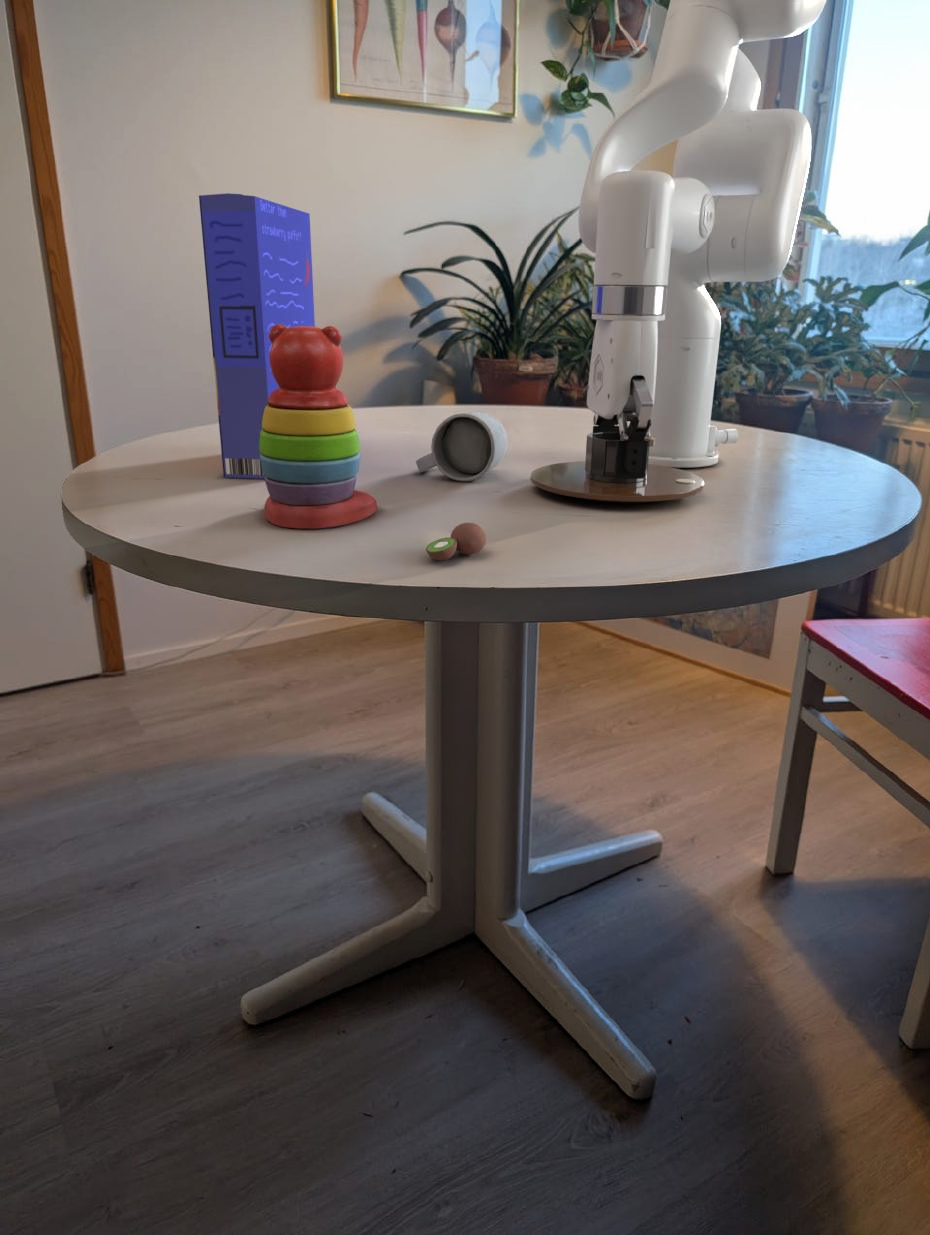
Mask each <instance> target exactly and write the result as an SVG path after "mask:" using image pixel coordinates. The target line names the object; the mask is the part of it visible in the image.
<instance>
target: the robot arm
mask: <svg viewBox="0 0 930 1235" xmlns="http://www.w3.org/2000/svg"><path fill="white" fill-rule="evenodd" d="M826 4H827V0H669V5H668V8H667V13H666V17H665V21H664V25H663V29H662V33H661V37H660V42H659V45H658V50H657V54H656V58H655V62H654V66H653V70H652V74H651V79H650V82H649V84H648V85H647V86H646V87H645V88H644V89H643V90H642V91H641V92H640V93H638V95H636V96H635V97H634V98H633V99H632V100H631V101H630V102H629V103H628V104H627V105H626V106H625V107H624V108H623V109H622V110H621V111H620V112H619V113H618V115H617V116H616V117H615V118H614V119H613V120H612V121H611V122H610V124H609V125H608V126H607V128H606V129H605V130H604V131H603V133H602V134H601V136H600V138H599V139H598V140H597V142H596V144H595V147H594V148H593V151H592V154H591V156H590V160H589V164H588V167H587V172H586V176H585V179H584V184H583V188H582V192H581V196H580V203H579V208H578V209H579V210H578V219H577V220H578V221H577V222H578V231H579V236H580V239H581V242H582V244H583V245H584V247H585V248H586V249H587V250H588V251H590V252H592V253H593V254H595V257H594V274H593V291H592V305H591V306H592V308H591V320H596V323H595V328H594V334H593V339H592V346H591V353H590V354H591V355H590V364H589V372H588V373H589V374H588V383H587V391H586V392H587V394H586V406H587V408H588V410H590V411H591V412H592V413H594V414H593V420H592V424H593V426H592V433H594V432H601V431H620V437H621V440H617V447H616V461H615V477H616V478H617V479H643V478H644V477H645V473H646V462H647V450H648V440H649V437H650V436H651V438H655V445H654V446H653V447H651V446H650V457H649V464H653V465H660V466H666V467H671V468H676V469H691V468H694V469H695V468H703V467H710V466H714V465H716V464H717V463H718V462H719V457H720V454H719V452H718V451H716V450H715V448H716V447H717V446H719V444H722V445H729V444H736V443H737V442H738V441H739V437H740V435H739V431H738V430H737V429H736V428H727V429H725V428H724V429H721V430H720V429H718V428H717V425H712V424H711V420H712V410H713V402H714V393H715V392H714V391H715V383H716V374H717V366H718V357H719V348H720V340H721V330H722V322H721V321H722V320H721V315H720V312H719V309H718V307H717V306H716V304H715V302H714V301H713V299H712V298H711V295H710V294H709V292H708V291H707V289H706V287H705V284H707V283H708V284H709V283H717V282H718V283H759V282H761V283H763V282H768V281H771V280H774V279H775V278H777V277H778V276H780V275H781V274H782V272H783V271H784V270H785V268H786V266H787V264H788V261H789V258H790V255H791V252H792V249H793V248H792V247H793V244H794V240H795V235H796V234H795V233H796V230H797V225H798V221H799V217H800V212H801V208H802V203H803V197H804V193H805V188H806V183H807V179H808V174H809V168H810V162H811V156H812V155H811V154H812V132H811V126H810V123H809V121H808V118H807V117H806V115H804V114H803V113H802V112H801V111H799V110H797V109H793V108H783V107H781V108H767V109H766V108H765V109H757V108H758V104H759V98H760V96H761V90H762V88H761V86H762V85H761V84H762V83H761V79H760V76H759V74H758V72H757V70H756V69H755V66H754V65H753V64H752V61H750V59H749V58H748V56H747V55H746V54H745V52H743V51H742V50H741V49H740V48H739V46H740V45H741V44H743V43H751V42H760V41H768V40H777V39H784V38H791V37H794V36H797V35H800V34H802V33H803V32H804V31H805V30H807V29H808V28H810V27H812V26H813V25H814V23H815V22H816V21H817V20H818V19H819V18H820V16H821V14H822V12H823V10H824V7H825V6H826ZM676 141H677V143H676V148H675V152H674V159H673V165H672V175H670V174H669V173H666V172H665V171H659V170H650V169H649V170H648V169H633V168H634V167H635V166H636V165H637V164H638V163H639V162H641V161H642V160H643V159H644V158H647V157H648V156H649V155H651V154H652V153H654V152H656V151H658V150H659V149H661V148H663V147H665V146H667V145H669V144H672V143H674V142H676ZM628 422H629V424H628Z"/></svg>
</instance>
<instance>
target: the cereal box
mask: <svg viewBox="0 0 930 1235" xmlns="http://www.w3.org/2000/svg"><path fill="white" fill-rule="evenodd" d="M198 200H199V214H200V222H201V223H200V225H201V236H202V246H203V247H202V248H203V259H204V268H205V280H206V292H207V302H208V303H207V304H208V315H209V316H208V317H209V327H210V336H211V337H210V338H211V349H212V360H213V370H214V371H213V372H214V382H215V394H216V404H217V405H216V406H217V416H218V427H219V428H218V430H219V437H220V438H219V439H220V451H221V462H222V472H223V478H232V479H262V480H265V475H264V474H263V471H262V466H261V461H260V454H261V452H260V451H259V441H260V432H261V430H262V429H263V428H262V420H263V414H264V410H265V407H266V406H267V405H268V402H267V400H268V398H269V396H270V395H271V393H272V392H273V391H275V390H276V389H279V385H278V383H277V382H276V380H275V378H274V376H273V373H272V370H271V366H270V349H271V346H272V343H271V341H270V339H269V332H270V329H271V328H272V327H273V326H275V325H278V324H281V325H284V326H286V327H287V328H291V327H296V326H312V327H316V323H315V322H316V320H315V303H314V302H315V301H314V300H315V299H314V298H315V297H314V278H313V277H314V276H313V259H312V257H313V256H312V255H313V254H312V238H311V237H312V236H311V216H310V213H308V212H305V211H302V210H299V209H297V208H292V207H290V206H287V205H283V204H281V203H278V202H274V201H271V200H268V199H264V198H261V197H259V196H255V195H247V194H246V195H245V194H241V193H215V194H213V193H212V194H203V195H202V194H201V195H198Z"/></svg>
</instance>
